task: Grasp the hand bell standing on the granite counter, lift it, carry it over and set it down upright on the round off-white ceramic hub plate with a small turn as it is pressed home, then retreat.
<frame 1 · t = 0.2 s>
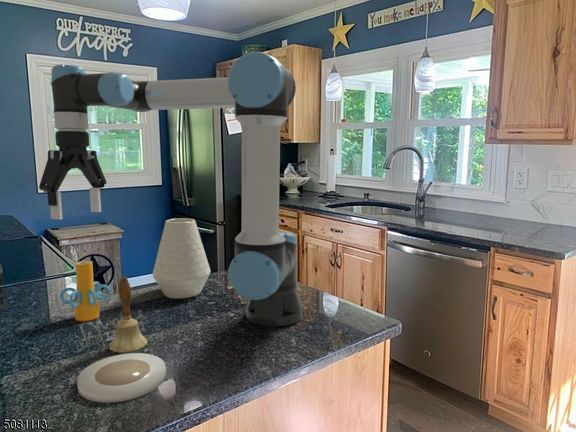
hand: (77, 215, 112), 28 cm above the counter, fingers open, 13 cm apart
vase: (182, 293, 137), on the counter
cylinder: (87, 318, 116), on the counter
hand bell: (128, 345, 100), on the counter
hub plate: (123, 379, 85), on the counter
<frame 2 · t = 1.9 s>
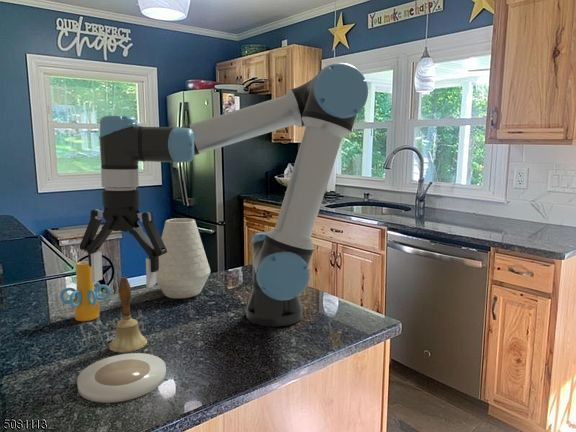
hand: (123, 283, 98), 14 cm above the counter, fingers open, 13 cm apart
nothing on the counter moved.
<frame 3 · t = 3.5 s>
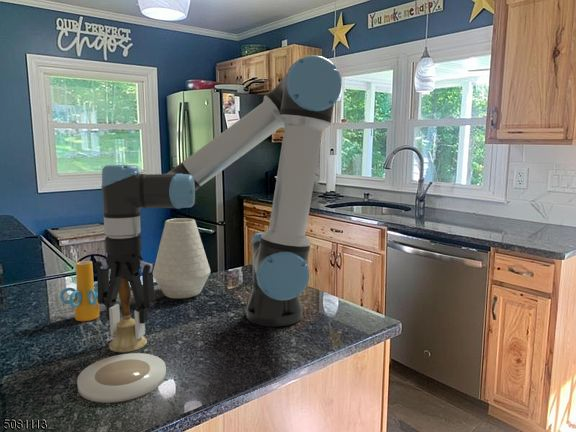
hand: (128, 334, 100), 2 cm above the counter, fingers closed on hand bell, 6 cm apart
hand bell: (128, 345, 100), on the counter, touching gripper
everything else where it was.
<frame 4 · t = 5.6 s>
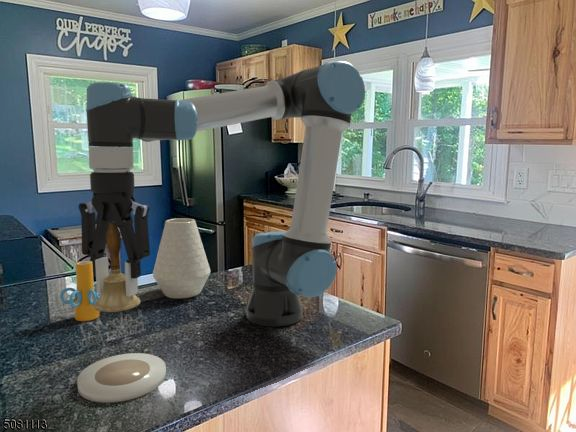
hand: (117, 292, 83), 17 cm above the counter, fingers closed on hand bell, 6 cm apart
hand bell: (117, 305, 84), point 15 cm above the counter, touching gripper
everything else where it was.
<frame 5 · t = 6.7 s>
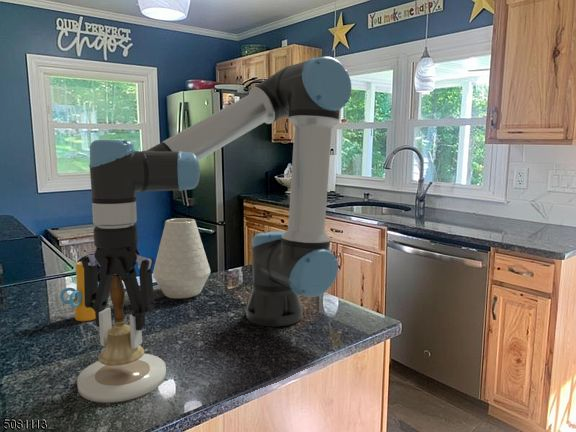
hand: (121, 343, 84), 7 cm above the counter, fingers closed on hand bell, 6 cm apart
hand bell: (121, 356, 84), point 5 cm above the counter, touching gripper
everything else where it was.
when the fingers open (5 cm above the counter, at t = 7.7 s): hand bell drops 1 cm, resting on hub plate.
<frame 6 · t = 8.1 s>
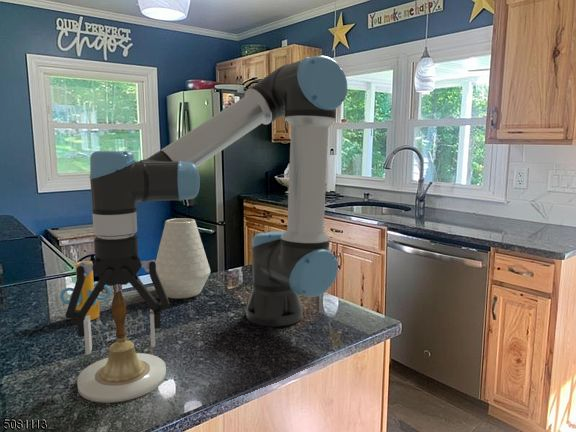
hand: (121, 347, 84), 6 cm above the counter, fingers open, 11 cm apart
hand bell: (123, 372, 84), point 1 cm above the counter, touching hub plate
everything else where it was.
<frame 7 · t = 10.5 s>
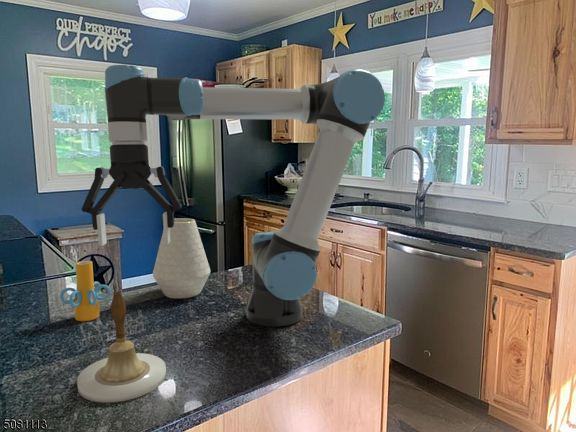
hand: (135, 243, 94), 24 cm above the counter, fingers open, 13 cm apart
nothing on the counter moved.
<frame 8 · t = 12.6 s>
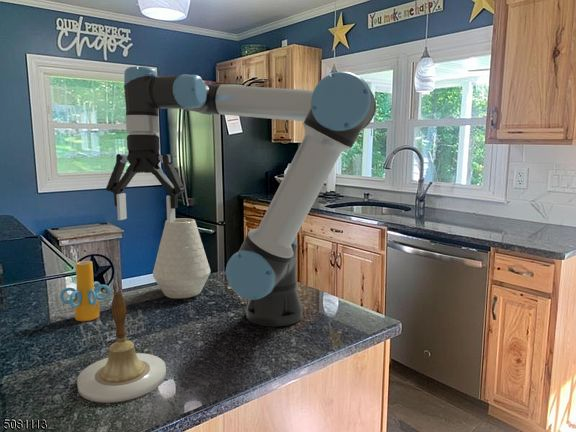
hand: (146, 220, 109), 27 cm above the counter, fingers open, 13 cm apart
nothing on the counter moved.
at the end: hand bell inside the target area on the hub plate (0.0 cm from its centre), point 1.4 cm above the hub plate's base; hand bell tilted 0°; the gripper is holding nothing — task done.
